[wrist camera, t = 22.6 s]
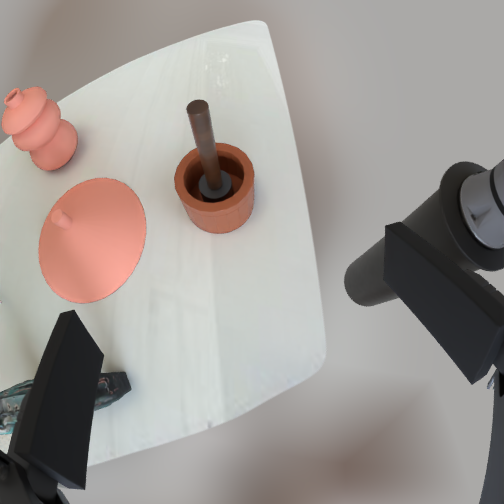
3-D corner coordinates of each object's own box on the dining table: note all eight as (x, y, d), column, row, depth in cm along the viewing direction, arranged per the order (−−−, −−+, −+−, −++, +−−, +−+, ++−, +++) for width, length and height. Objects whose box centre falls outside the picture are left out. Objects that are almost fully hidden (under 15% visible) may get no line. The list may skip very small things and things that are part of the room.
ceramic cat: (45, 421, 35) (-39, 444, 16) (32, 385, 37) (-56, 393, 18) (141, 398, 37) (63, 435, 18) (124, 356, 39) (37, 363, 20)
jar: (264, 187, 46) (266, 158, 38) (235, 244, 43) (231, 224, 36) (206, 164, 47) (199, 133, 39) (174, 217, 45) (160, 193, 37)
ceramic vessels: (168, 259, 43) (114, 206, 25) (59, 325, 40) (-27, 311, 22) (102, 111, 51) (64, 44, 33) (21, 167, 48) (-31, 118, 30)
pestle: (239, 193, 45) (230, 97, 25) (225, 218, 44) (206, 130, 24) (212, 182, 45) (189, 86, 26) (198, 206, 44) (164, 117, 25)
